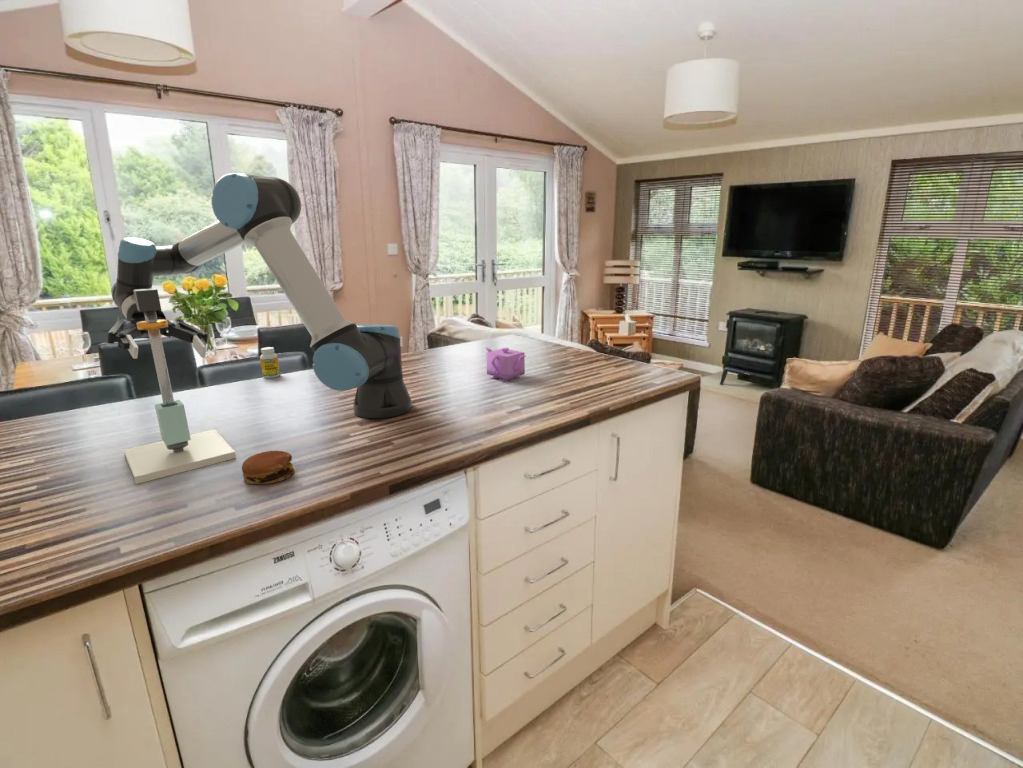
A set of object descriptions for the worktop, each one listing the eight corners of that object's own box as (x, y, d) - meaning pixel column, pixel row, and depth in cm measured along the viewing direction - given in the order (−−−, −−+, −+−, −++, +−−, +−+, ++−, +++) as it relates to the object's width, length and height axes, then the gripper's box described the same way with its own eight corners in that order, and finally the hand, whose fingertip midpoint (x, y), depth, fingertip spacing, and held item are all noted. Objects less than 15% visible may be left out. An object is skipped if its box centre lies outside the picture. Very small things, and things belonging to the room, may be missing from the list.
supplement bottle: (278, 373, 184) (274, 345, 181) (281, 376, 179) (277, 348, 177) (261, 375, 181) (257, 347, 178) (264, 379, 176) (260, 350, 174)
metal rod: (189, 444, 120) (158, 287, 110) (194, 450, 116) (162, 289, 106) (162, 450, 116) (127, 289, 107) (166, 457, 113) (131, 291, 103)
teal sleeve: (186, 434, 119) (179, 399, 116) (190, 440, 115) (183, 404, 113) (162, 439, 116) (154, 404, 113) (166, 445, 112) (158, 409, 110)
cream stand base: (215, 435, 129) (214, 429, 128) (236, 458, 116) (235, 451, 115) (125, 456, 118) (123, 449, 117) (136, 484, 104) (134, 477, 104)
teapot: (541, 378, 172) (541, 348, 169) (513, 387, 163) (513, 355, 160) (501, 368, 184) (501, 340, 181) (473, 376, 175) (472, 347, 172)
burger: (239, 474, 108) (235, 453, 107) (287, 463, 113) (285, 442, 112) (248, 493, 100) (245, 470, 99) (300, 480, 105) (297, 458, 104)
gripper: (197, 329, 144) (227, 365, 133) (80, 327, 126) (102, 369, 114) (200, 303, 142) (231, 338, 130) (81, 297, 123) (104, 337, 111)
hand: (171, 352), depth 122 cm, fingers open, 13 cm apart
